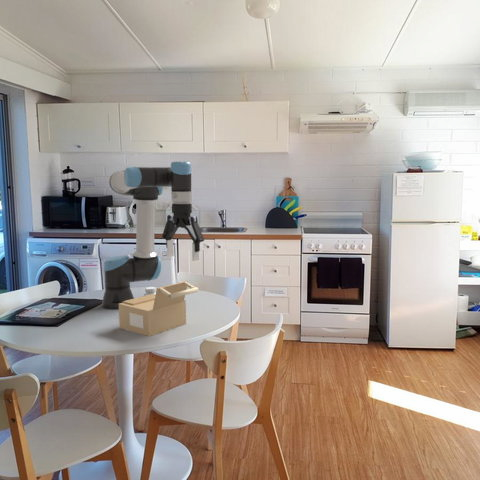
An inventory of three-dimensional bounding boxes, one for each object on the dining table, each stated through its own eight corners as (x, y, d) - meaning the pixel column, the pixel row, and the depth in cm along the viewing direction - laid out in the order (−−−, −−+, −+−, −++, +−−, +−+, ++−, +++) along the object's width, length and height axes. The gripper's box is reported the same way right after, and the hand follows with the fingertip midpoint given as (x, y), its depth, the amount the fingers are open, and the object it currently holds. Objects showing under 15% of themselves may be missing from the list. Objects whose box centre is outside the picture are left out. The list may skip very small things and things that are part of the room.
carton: (119, 327, 187) (118, 302, 186) (157, 316, 203) (156, 292, 201) (148, 336, 176) (147, 309, 175) (186, 323, 192) (185, 298, 190)
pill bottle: (161, 312, 209) (160, 287, 208) (153, 315, 204) (152, 290, 202) (149, 310, 212) (148, 285, 211) (141, 314, 206) (140, 288, 205)
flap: (157, 287, 173) (170, 295, 169) (187, 279, 186) (200, 287, 181) (152, 309, 176) (165, 318, 172) (182, 300, 188) (195, 309, 184)
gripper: (152, 202, 179) (153, 256, 182) (198, 204, 163) (199, 263, 166) (166, 201, 185) (167, 253, 187) (212, 203, 169) (213, 260, 172)
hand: (182, 258), depth 177 cm, fingers open, 13 cm apart
